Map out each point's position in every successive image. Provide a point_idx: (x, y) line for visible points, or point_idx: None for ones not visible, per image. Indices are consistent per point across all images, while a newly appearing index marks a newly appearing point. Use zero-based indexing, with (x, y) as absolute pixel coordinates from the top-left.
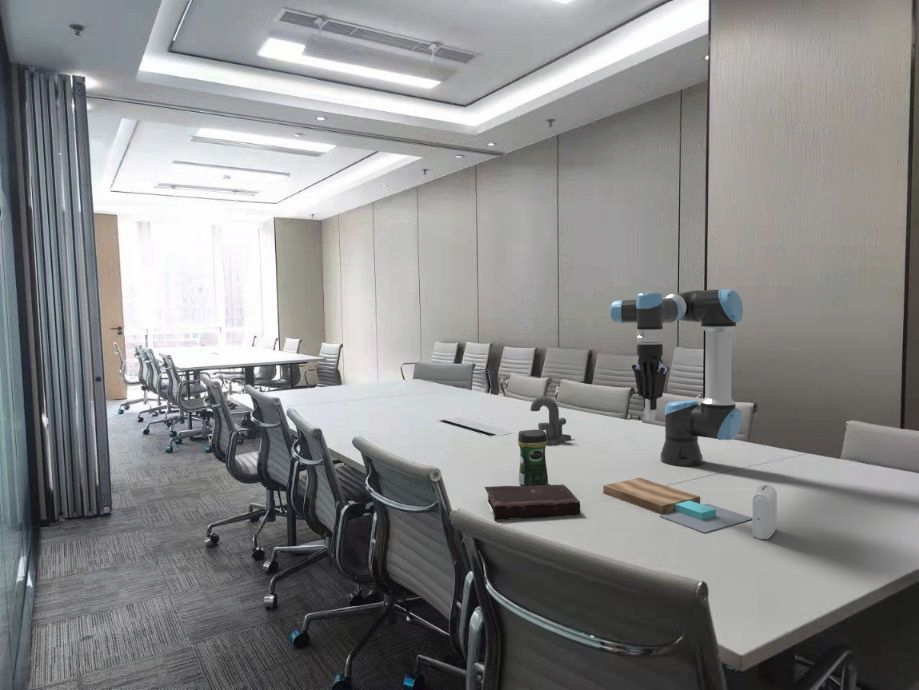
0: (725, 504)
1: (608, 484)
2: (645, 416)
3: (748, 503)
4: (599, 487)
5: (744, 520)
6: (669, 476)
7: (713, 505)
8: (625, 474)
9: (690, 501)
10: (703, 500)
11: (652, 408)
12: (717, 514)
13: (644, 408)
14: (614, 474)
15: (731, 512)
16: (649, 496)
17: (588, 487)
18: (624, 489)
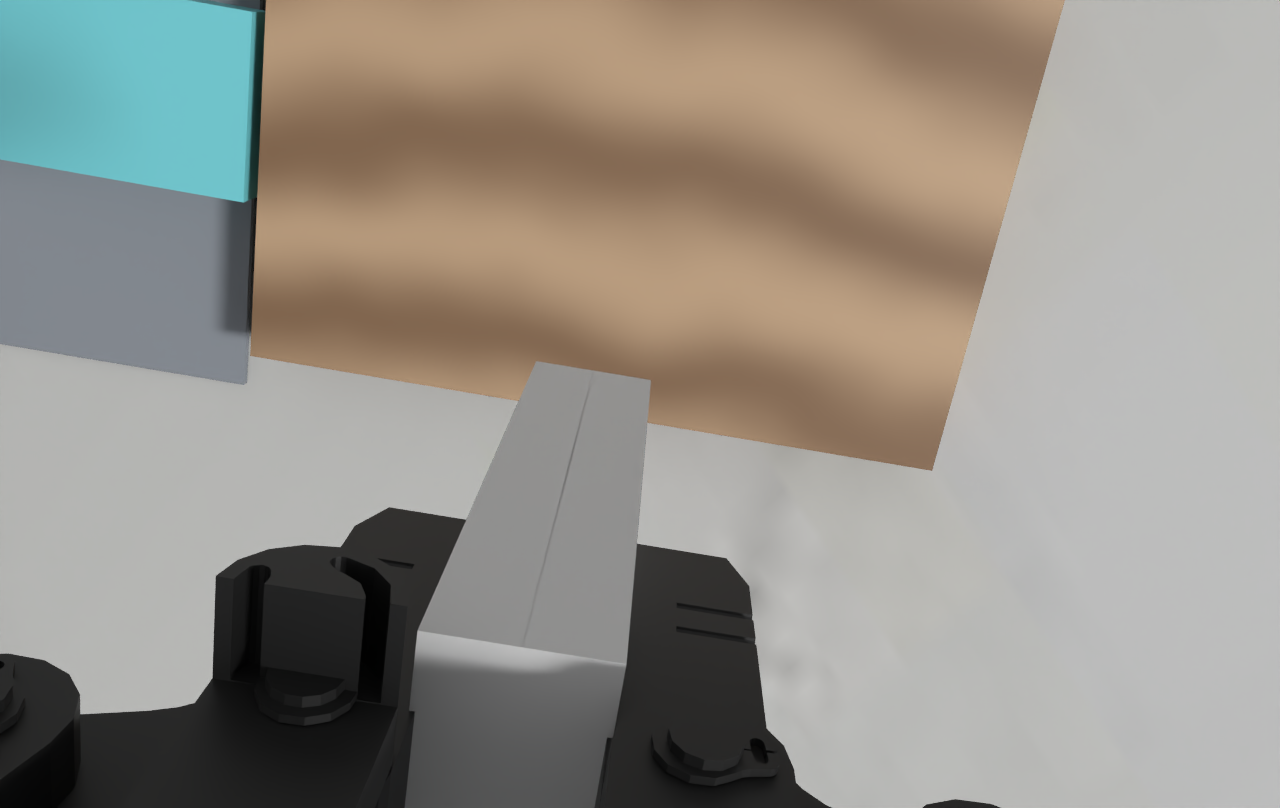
0: (173, 478)
1: (1043, 56)
2: (636, 405)
3: (97, 608)
4: (1170, 118)
5: None
6: (868, 802)
7: (186, 372)
8: (1187, 622)
9: (222, 185)
10: (329, 450)
11: (390, 529)
12: (28, 195)
13: (719, 560)
14: (1268, 559)
15: (5, 318)
16: (526, 18)
17: (1259, 34)
18: (825, 30)
